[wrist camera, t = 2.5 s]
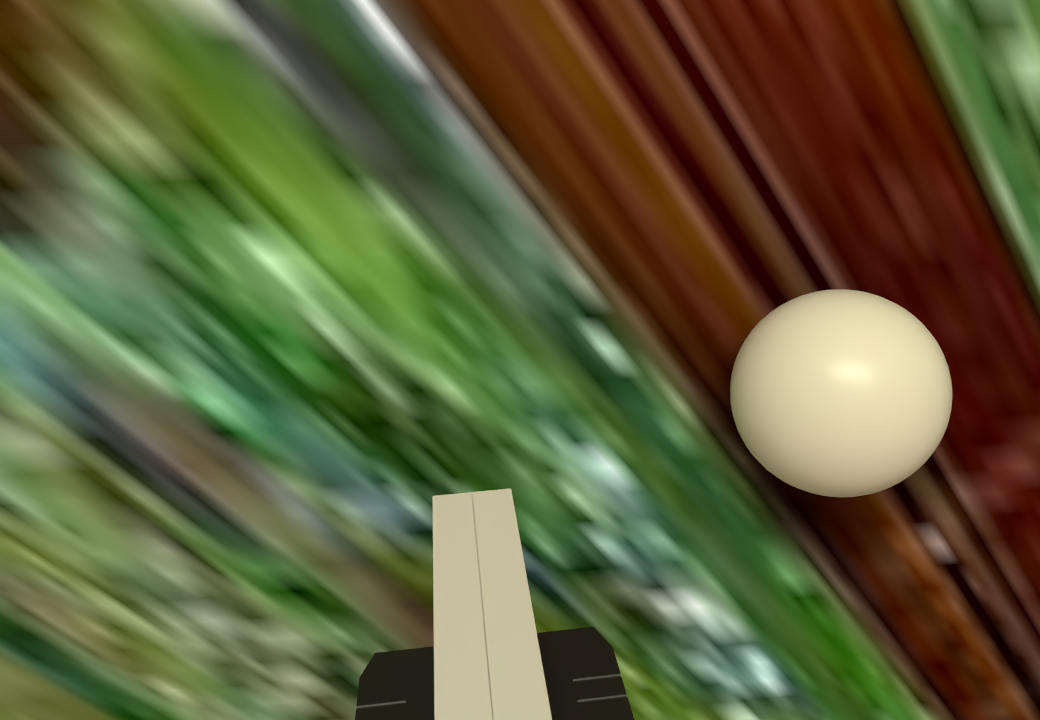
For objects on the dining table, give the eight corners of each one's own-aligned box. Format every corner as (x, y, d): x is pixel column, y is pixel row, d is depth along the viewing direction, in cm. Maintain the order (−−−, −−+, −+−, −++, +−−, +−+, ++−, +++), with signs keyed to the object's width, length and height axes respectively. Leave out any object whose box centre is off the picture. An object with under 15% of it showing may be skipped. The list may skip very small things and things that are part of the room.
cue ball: (895, 258, 24) (1018, 320, 19) (876, 430, 26) (981, 528, 21) (707, 272, 24) (780, 339, 19) (702, 446, 26) (766, 548, 21)
